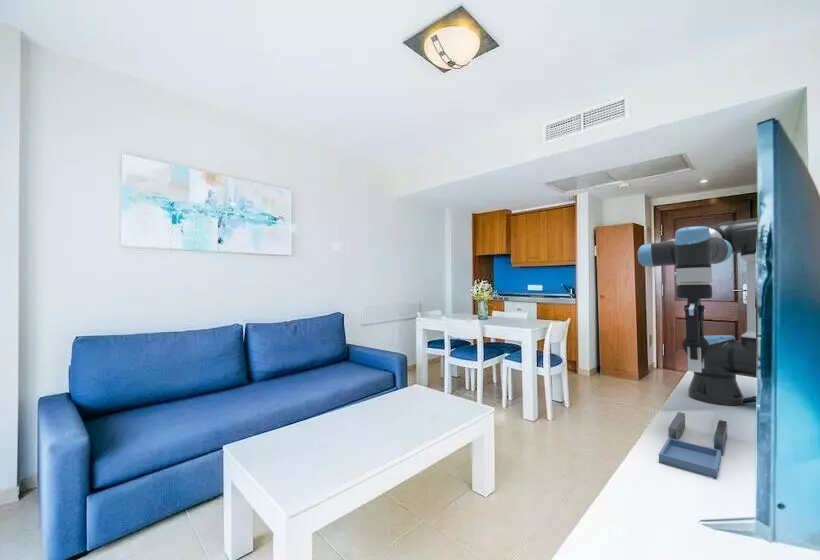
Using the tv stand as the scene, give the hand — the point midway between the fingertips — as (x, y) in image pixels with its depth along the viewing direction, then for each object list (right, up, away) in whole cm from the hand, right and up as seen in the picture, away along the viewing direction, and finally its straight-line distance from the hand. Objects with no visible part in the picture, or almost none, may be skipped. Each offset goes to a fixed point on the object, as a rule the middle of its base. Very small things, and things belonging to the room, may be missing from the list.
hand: (696, 369), depth 94 cm
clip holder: (0, -19, 0) cm, 19 cm away
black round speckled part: (0, -1, 0) cm, 1 cm away
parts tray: (-11, -19, -12) cm, 25 cm away
